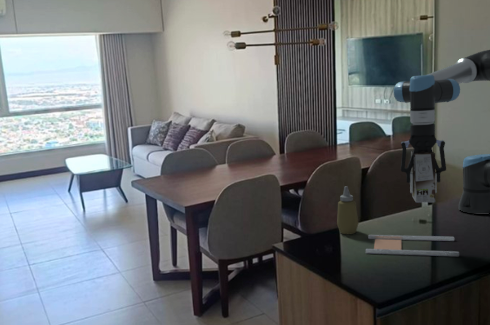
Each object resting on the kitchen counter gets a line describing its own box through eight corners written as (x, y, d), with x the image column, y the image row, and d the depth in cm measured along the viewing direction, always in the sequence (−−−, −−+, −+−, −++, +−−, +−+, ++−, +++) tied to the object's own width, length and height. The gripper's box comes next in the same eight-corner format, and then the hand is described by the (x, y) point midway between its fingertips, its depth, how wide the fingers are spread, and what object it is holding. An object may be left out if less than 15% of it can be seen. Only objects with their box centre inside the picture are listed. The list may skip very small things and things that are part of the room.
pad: (401, 241, 177) (401, 239, 177) (401, 251, 167) (401, 250, 166) (375, 240, 180) (375, 239, 180) (373, 250, 169) (373, 249, 169)
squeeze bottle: (339, 228, 196) (337, 184, 193) (360, 229, 193) (358, 184, 190) (335, 235, 188) (333, 188, 185) (357, 236, 186) (355, 189, 183)
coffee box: (436, 202, 162) (435, 153, 159) (415, 203, 163) (414, 154, 160) (431, 195, 170) (430, 149, 168) (411, 196, 172) (410, 150, 169)
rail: (453, 239, 174) (453, 236, 174) (459, 256, 159) (458, 252, 159) (368, 237, 183) (368, 234, 183) (365, 253, 168) (365, 249, 167)
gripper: (390, 125, 162) (392, 194, 165) (456, 123, 156) (456, 194, 160) (391, 123, 169) (392, 189, 173) (453, 120, 163) (453, 189, 167)
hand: (423, 191), depth 166 cm, fingers closed on coffee box, 7 cm apart
